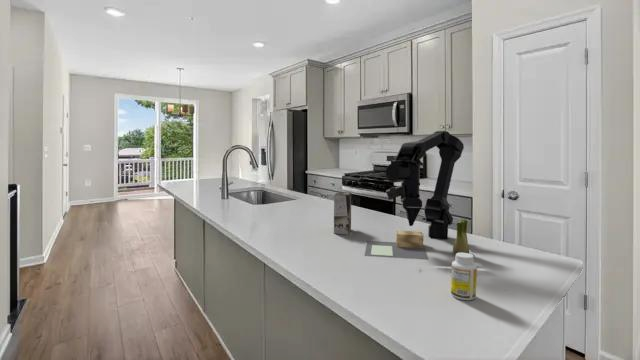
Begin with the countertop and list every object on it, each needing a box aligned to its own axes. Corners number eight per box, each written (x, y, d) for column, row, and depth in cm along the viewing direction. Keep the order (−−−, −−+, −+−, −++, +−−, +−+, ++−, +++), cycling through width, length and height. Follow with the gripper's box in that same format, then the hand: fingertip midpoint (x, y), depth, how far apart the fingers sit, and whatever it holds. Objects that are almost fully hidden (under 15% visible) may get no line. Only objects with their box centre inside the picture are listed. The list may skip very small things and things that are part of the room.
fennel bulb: (457, 258, 113) (459, 221, 111) (448, 254, 117) (449, 218, 116) (473, 257, 114) (474, 220, 113) (463, 252, 119) (464, 217, 118)
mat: (422, 245, 128) (422, 243, 127) (428, 261, 110) (428, 258, 110) (367, 242, 131) (367, 240, 131) (364, 257, 114) (364, 255, 113)
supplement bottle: (466, 290, 88) (468, 250, 87) (480, 300, 82) (482, 257, 81) (446, 292, 87) (447, 252, 86) (458, 302, 81) (460, 259, 80)
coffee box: (349, 234, 143) (349, 195, 141) (333, 233, 144) (333, 194, 142) (351, 229, 152) (351, 192, 150) (336, 228, 153) (336, 191, 151)
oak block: (421, 243, 127) (421, 231, 127) (423, 248, 122) (423, 235, 122) (396, 242, 129) (396, 230, 129) (396, 246, 124) (396, 234, 123)
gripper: (387, 176, 134) (386, 216, 135) (387, 181, 115) (386, 228, 117) (417, 176, 132) (416, 217, 133) (423, 182, 113) (421, 229, 115)
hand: (409, 222), depth 125 cm, fingers open, 9 cm apart
